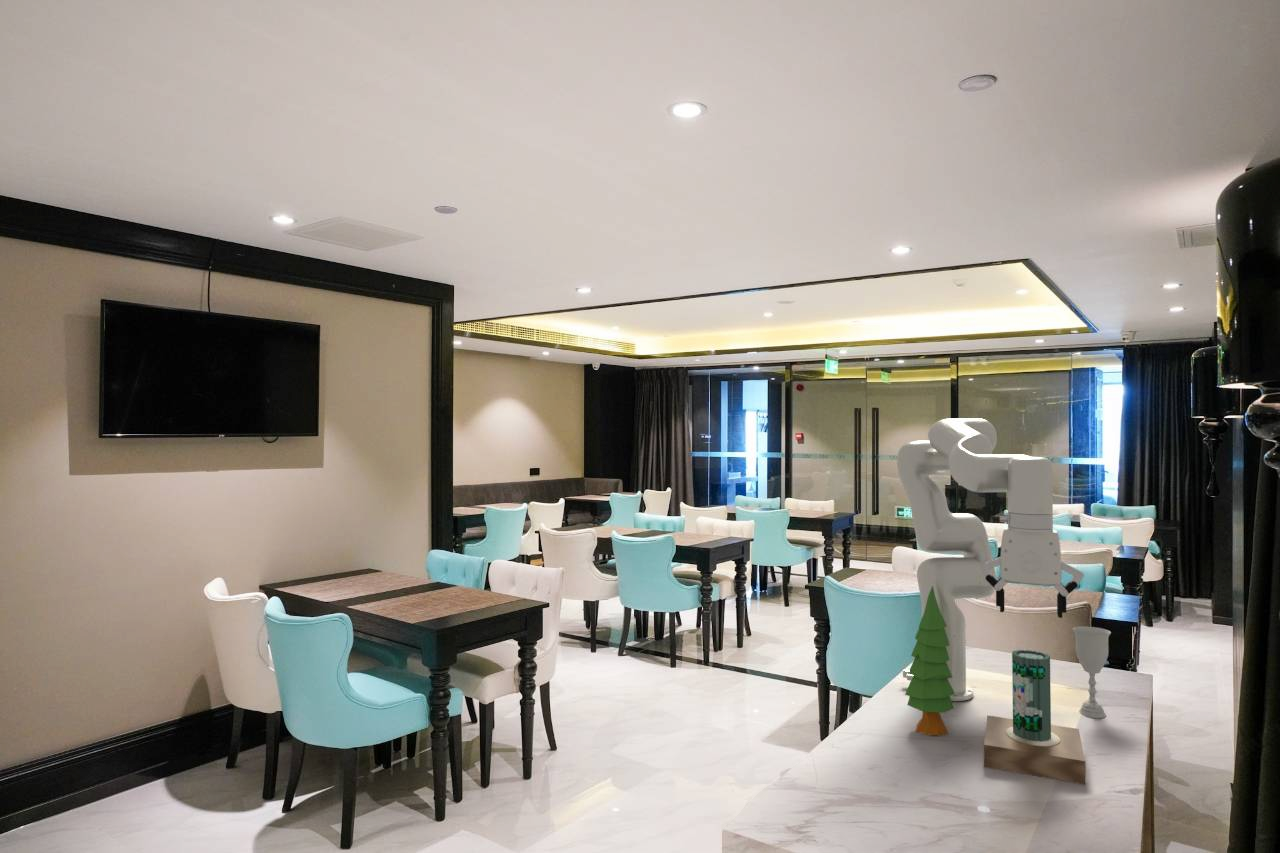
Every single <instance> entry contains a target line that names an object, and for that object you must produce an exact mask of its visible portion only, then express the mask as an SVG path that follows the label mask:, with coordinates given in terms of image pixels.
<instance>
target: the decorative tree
mask: <svg viewBox="0 0 1280 853" xmlns="http://www.w3.org/2000/svg"><path fill="white" fill-rule="evenodd" d="M945 627H947V625H946V623H945V621H944V619H943V617H942V615H941V613H940V610H939V607H938V604H937V601H936V598H935V593H934V589H933V585H932V588H931V590H930V593H929V596H928V599H927V603H926V607H925V611H924V614H923V617H922V616H921V619H920V622H919V625H918V630H917V631H916V634H915V637H914V639H915V640H916V643H915V646H914V648H913V650H912V653H911V655H910V656H911V657H913V658H914V659H913V662H912V664H911V666H910V668H909V670H910V671H909V673H910V674H912V675H913V677H912V680H911V681H910V682H909V684H908V687H907V689H906V692H905V693H904V696H908V697H909V698H908V701H907V704H906V705H907V706H909V707H911V708H913V709H916V710H919V711H921V712H922V715H921V719H920V720H919V721H918V723H917V724H916V727H917V728H915V732H917V731H918V733H919V732H921V733H920V734H922V733H924V734H923V735H925V734H930V735H929V736H932V735H937V736H936V737H939V736H938V735H940V736H942V734H943V735H945V733H946V734H949V731H948V729H947V726H946V725H945V722H944V721H943V719H942V716H941V714H945V713H947V712H949V711H952V710H953V709H955V706H954V704H953V701H951V698H950V695H953V694H955V692H954V690H953V689H952V687H951V685H950V683H949V681H948V679H947V678H952V674H951V672H950V670H949V668H948V665H947V663H946V661H949V656H948V653H947V649H946V646H950V644H949V641H948V638H947V635H946V631H945Z"/></svg>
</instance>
